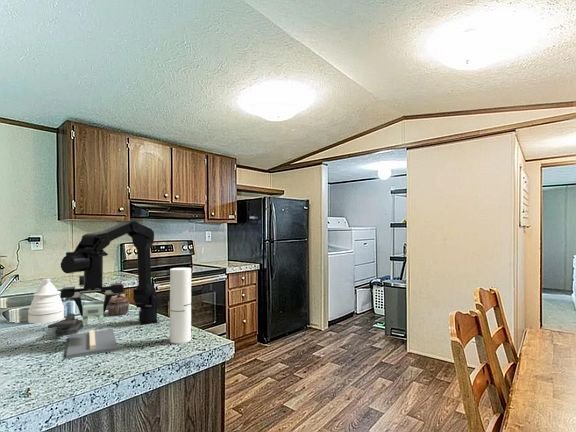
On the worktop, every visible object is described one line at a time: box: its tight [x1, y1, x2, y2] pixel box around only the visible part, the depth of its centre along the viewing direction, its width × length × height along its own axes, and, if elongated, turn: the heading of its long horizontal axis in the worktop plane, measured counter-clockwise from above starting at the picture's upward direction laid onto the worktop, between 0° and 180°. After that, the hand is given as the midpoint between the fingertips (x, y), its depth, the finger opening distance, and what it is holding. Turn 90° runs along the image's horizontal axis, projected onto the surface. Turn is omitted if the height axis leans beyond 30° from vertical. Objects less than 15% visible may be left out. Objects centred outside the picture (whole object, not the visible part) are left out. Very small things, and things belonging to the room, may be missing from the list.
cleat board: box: [65, 328, 119, 359], centre depth 120 cm, size 14×24×2 cm, turn 30°
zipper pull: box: [47, 312, 84, 337], centre depth 132 cm, size 9×7×25 cm
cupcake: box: [106, 292, 130, 317], centre depth 163 cm, size 10×10×10 cm
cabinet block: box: [82, 299, 104, 325], centre depth 120 cm, size 6×11×6 cm, turn 30°
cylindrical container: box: [169, 267, 192, 344], centre depth 124 cm, size 7×7×25 cm
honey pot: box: [27, 278, 65, 324], centre depth 153 cm, size 13×13×18 cm
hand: (92, 315), depth 120 cm, fingers closed on cabinet block, 6 cm apart
